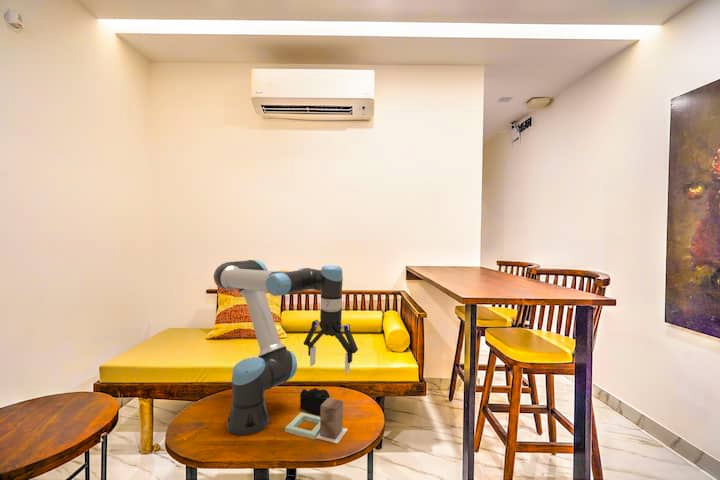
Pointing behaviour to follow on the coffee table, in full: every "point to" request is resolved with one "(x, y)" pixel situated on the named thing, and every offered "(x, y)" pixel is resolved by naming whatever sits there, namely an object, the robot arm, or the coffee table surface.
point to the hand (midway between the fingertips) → (329, 368)
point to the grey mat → (333, 439)
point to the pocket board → (294, 429)
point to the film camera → (313, 400)
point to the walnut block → (331, 418)
